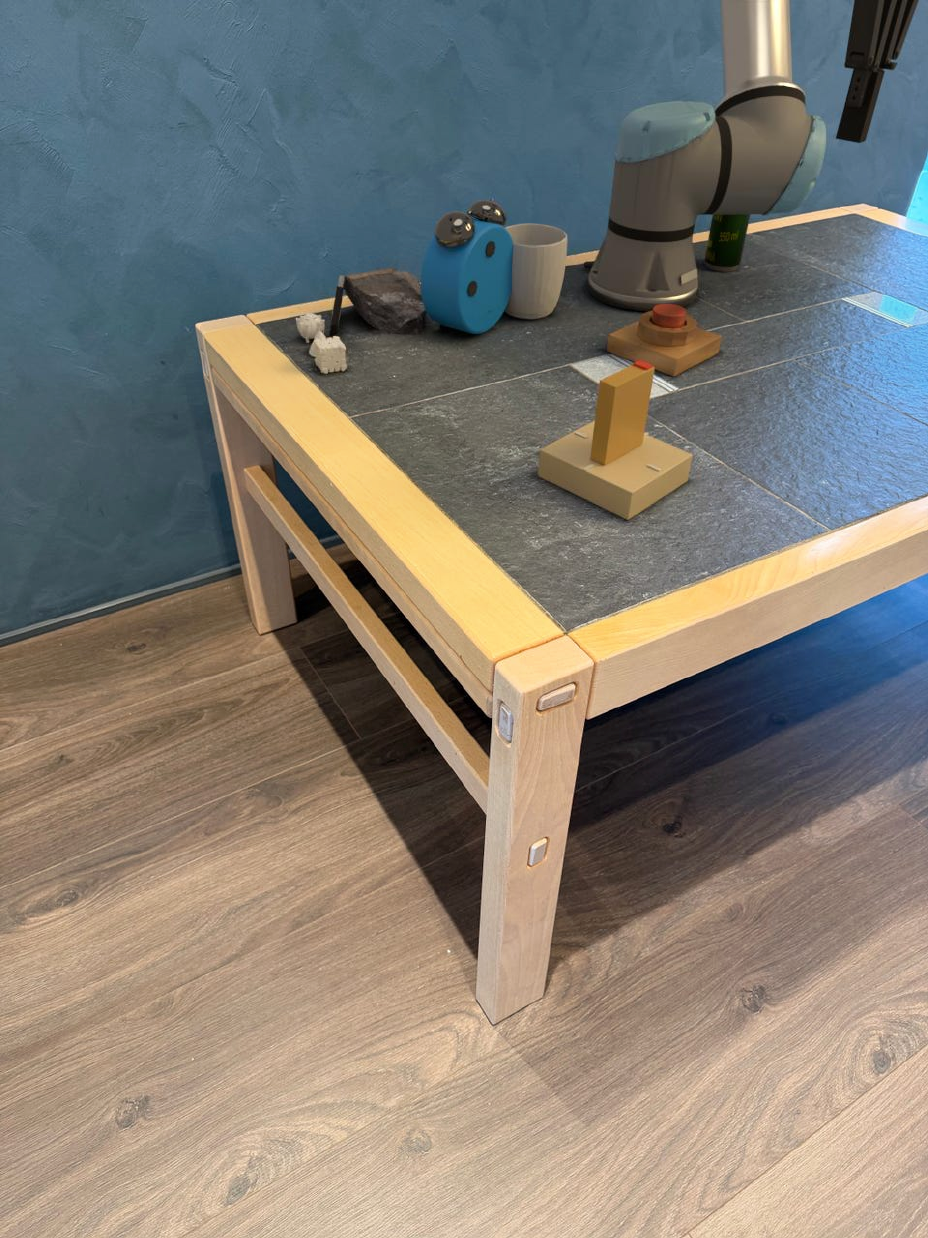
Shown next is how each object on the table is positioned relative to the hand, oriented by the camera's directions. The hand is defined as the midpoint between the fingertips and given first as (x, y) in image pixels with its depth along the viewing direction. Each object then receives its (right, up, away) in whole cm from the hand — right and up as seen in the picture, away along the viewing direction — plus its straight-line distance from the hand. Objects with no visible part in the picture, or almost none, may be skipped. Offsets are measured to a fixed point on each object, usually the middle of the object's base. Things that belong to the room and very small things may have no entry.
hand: (850, 139), depth 97 cm
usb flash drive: (-57, -12, +19) cm, 62 cm away
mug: (-34, -9, +26) cm, 44 cm away
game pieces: (-59, -19, +14) cm, 64 cm away
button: (-17, -15, +14) cm, 26 cm away
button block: (-17, -18, +16) cm, 29 cm away
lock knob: (-27, -35, -10) cm, 45 cm away
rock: (-48, -13, +23) cm, 55 cm away
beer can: (-2, +2, +41) cm, 41 cm away
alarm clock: (-41, -14, +21) cm, 48 cm away
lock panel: (-27, -38, -8) cm, 47 cm away
